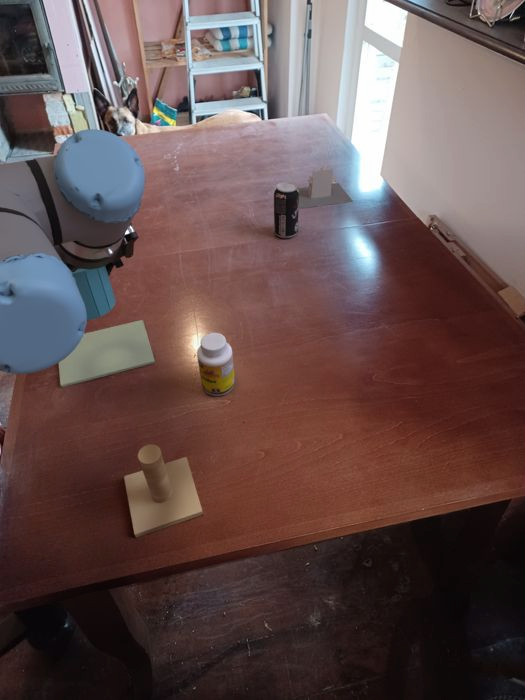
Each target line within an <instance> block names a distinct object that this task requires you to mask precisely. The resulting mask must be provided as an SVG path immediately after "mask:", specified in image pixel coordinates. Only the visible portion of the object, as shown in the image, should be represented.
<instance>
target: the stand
mask: <svg viewBox="0 0 525 700" xmlns="http://www.w3.org/2000/svg"><path fill="white" fill-rule="evenodd" d="M137 459H138V462H139V465H140V468H141V470H139V471H136V472H134V473H130V474H127V475H124V476H123V479H124V486H125V490H126V496H127V501H128V506H129V513H130V517H131V523H132V528H133V529H132V530H133V534H134V537H135V538H140V537H143V536H145V535H148V534H151V533H154V532H158V531H160V530H163V529H165V528H168V527H172V526H174V525H177V524H180V523H183V522H186V521H188V520H192V519H194V518H195V519H196V518H198V517H200V516H203V515H204V512H203V507H202V505H201V500H200V498H199V495H198V492H197V487H196V484H195V481H194V477H193V474H192V471H191V467H190V464H189V460H188V457H187V456H185V457H181V458H178V459H175V460H171V461H168V462H165V461H164V458H163V454H162V450H161V448H160V447H159V446H158V445H157V444H153V443H152V444H146V445H144V446H142V447H141V448H140V449H139V450H138V453H137Z"/></svg>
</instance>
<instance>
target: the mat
mask: <svg viewBox="0 0 525 700" xmlns="http://www.w3.org/2000/svg"><path fill="white" fill-rule="evenodd" d="M154 364H156V360H155V357H154V353H153V349H152V347H151V343H150V339H149V337H148V333H147V329H146V326H145V323H144V319H140V320H135V321H131V322H127V323H123V324H119V325H115V326H111V327H106V328H102V329H98V330H93V331H89V332H84V334H83V337H82V339H81V341H80V342H79V344H78V345H77V347H76V348H75V349H74V350H73V351H72V353H71V354H70V355H68V356H67V357H66V358H65V359H63V360H62V361H61V362H59V363H58V373H59V375H58V376H59V385H60V388H65V387H70V386H73V385H76V384H81V383H85V382H88V381H92V380H95V379H96V380H97V379H99V378H104V377H107V376H111V375H115V374H119V373H123V372H127V371H130V370H134V369H137V368H142V367H146V366H150V365H154Z"/></svg>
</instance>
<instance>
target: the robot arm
mask: <svg viewBox="0 0 525 700" xmlns="http://www.w3.org/2000/svg"><path fill="white" fill-rule="evenodd" d="M145 186H146V173H145V168H144V164H143V162H142V161H141V159H140V156H139V154H138V153H137V152H136V150H135V149H134V148H133V147H132V146H131V144H129V142H127V141H126V140H124V138H121V137H120V136H118V135H117V134H115V133H112V132H110V131H107V130H104V129H103V130H102V129H96V128H88V129H87V128H86V129H82V130H79V131H77V132H76V133H75V132H74V133H73V134H72V135H70V136H68V137H67V138H65V140H64V141H63V142H62V144H61V145H60V147H59V148H58V150H57V152H56V154H55V155H50V156H49V155H48V156H42V157H41V156H40V157H34V158H33V159H27V160H26V159H25V160H20V161H13V162H7V163H6V162H5V163H0V372H5V373H6V374H10V375H26V374H34V373H38V372H41V371H44V370H46V369H48V368H51V367H53V366H55V365H57V364H59V362H61V361H62V360H63V359H65V358H66V357H67V356H68V355H70V354H71V353H72V351H73V350H74V349H75V348H76V347H77V345H78V344H79V342H80V341H81V339H82V337H83V334H85V333H86V332H85V330H86V327H87V325H88V320H87V315H86V308H85V304H84V302H83V299H82V297H81V295H80V292H79V290H78V287H77V285H76V280H75V278H74V276H73V274H72V273H73V272H75V271H76V270H77V269H78V268H81V269H98V268H101V267H104V266H106V269H107V273H108V276H109V277H110V275H111V274H112V271H113V269H114V267H115V268H116V269H120V268H122V267H124V263H123V260H122V258H124V257H125V259H130V258H132V257H133V256H134V251H135V250H134V249H135V242H137V240H138V239H139V238H140V237H139V235H138V232H137V231H136V229H135V227H134V225H133V223H132V221H133V219H134V218H135V215H136V214H138V212H139V210H140V207H141V205H142V201H143V196H144V192H145Z"/></svg>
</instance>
